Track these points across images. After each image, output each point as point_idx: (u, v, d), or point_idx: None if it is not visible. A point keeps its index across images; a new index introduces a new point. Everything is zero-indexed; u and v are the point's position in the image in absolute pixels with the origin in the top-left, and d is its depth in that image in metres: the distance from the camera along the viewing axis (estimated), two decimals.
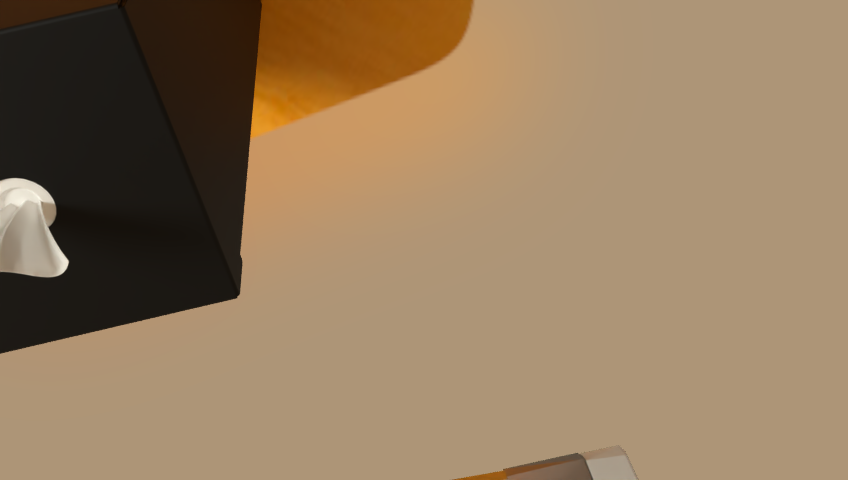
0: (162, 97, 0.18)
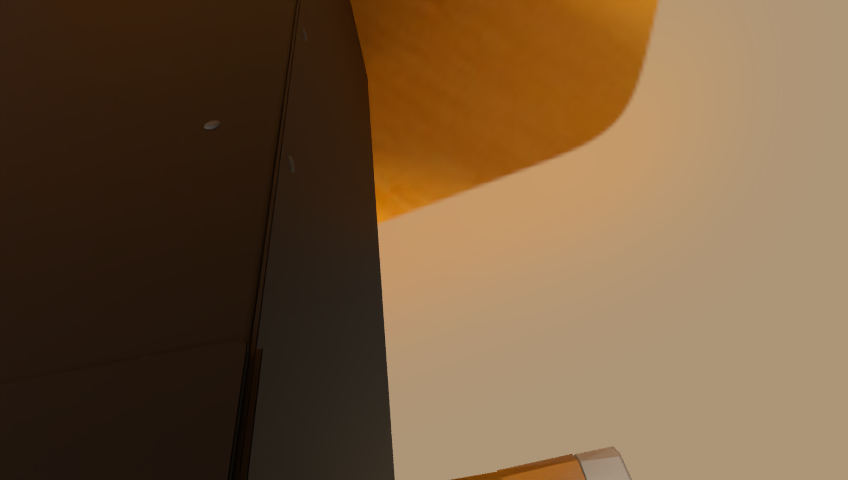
0: None
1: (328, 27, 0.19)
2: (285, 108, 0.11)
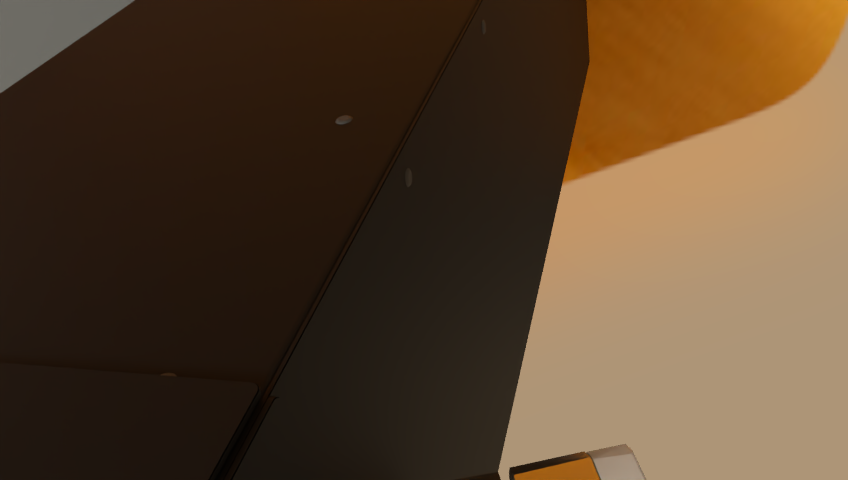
0: None
1: (533, 13, 0.17)
2: (419, 114, 0.10)
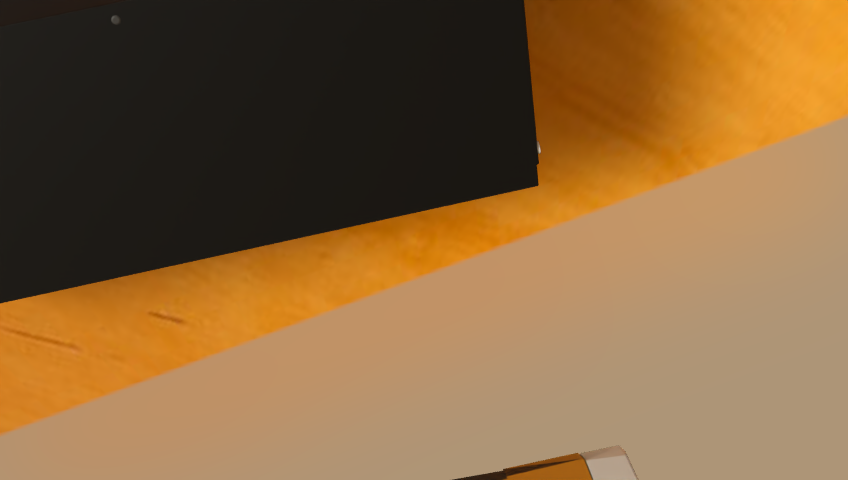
0: None
1: (138, 79, 0.20)
2: None
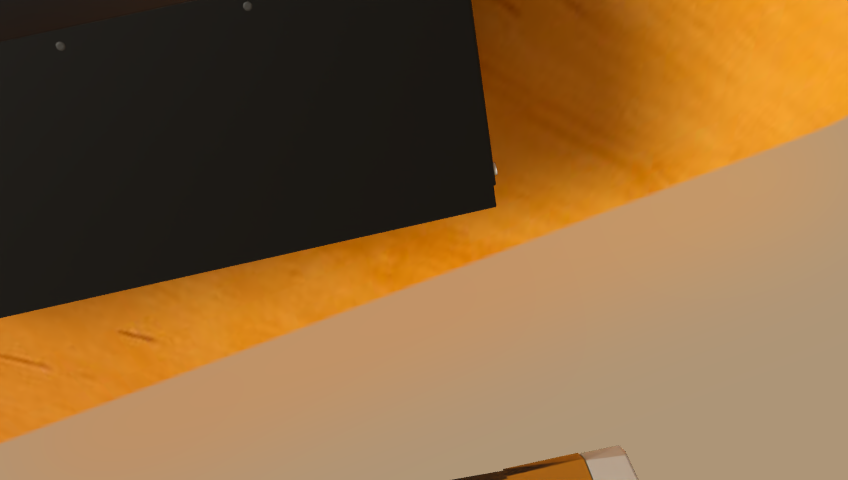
0: None
1: (85, 104, 0.20)
2: None
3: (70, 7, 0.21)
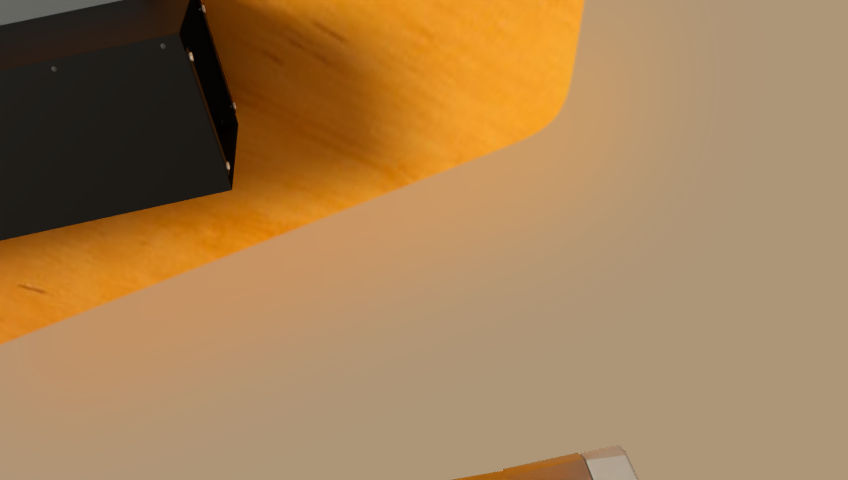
0: None
1: None
2: None
3: None
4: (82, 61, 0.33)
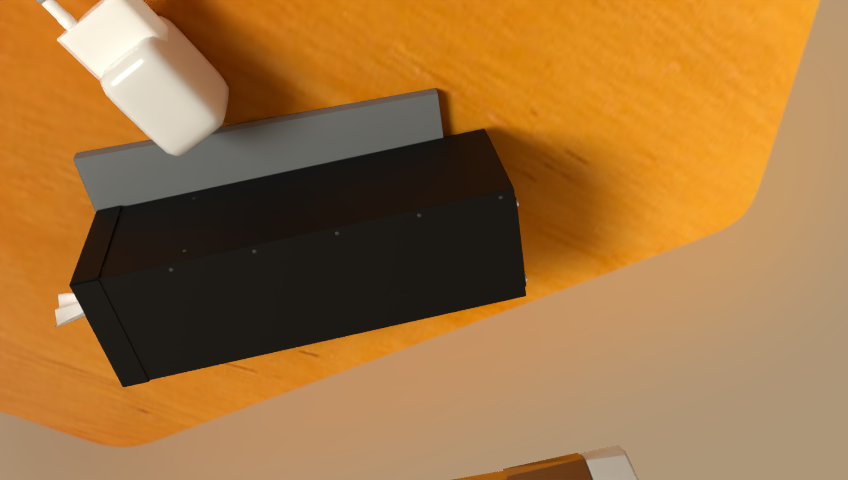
0: (88, 315, 0.44)
1: (342, 256, 0.45)
2: (184, 260, 0.43)
3: (333, 210, 0.45)
4: (440, 209, 0.44)
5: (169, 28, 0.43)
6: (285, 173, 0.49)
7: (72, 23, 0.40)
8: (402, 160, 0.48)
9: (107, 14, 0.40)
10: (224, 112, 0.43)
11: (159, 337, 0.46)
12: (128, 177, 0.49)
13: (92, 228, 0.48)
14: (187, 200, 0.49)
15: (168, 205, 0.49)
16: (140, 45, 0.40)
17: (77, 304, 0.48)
